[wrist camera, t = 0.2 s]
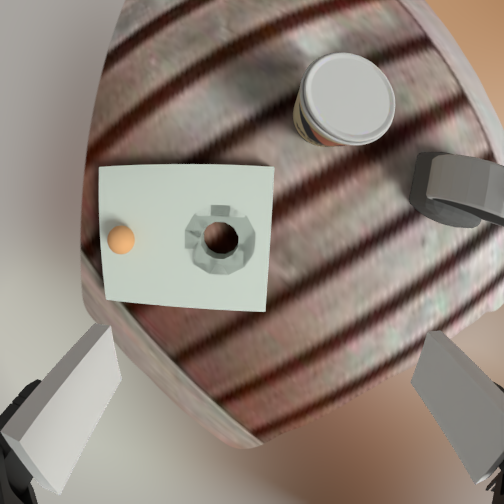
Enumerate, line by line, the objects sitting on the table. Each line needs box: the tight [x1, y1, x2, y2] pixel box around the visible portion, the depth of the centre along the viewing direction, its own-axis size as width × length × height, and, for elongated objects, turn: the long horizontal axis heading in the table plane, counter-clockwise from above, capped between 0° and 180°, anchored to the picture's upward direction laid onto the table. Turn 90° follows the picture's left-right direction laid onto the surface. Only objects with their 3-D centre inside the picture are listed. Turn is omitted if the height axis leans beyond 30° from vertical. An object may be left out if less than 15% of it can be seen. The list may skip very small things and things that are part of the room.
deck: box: [99, 164, 274, 312], centre depth 37 cm, size 22×18×2 cm
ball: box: [107, 225, 135, 254], centre depth 34 cm, size 4×4×4 cm
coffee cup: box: [293, 53, 395, 147], centre depth 28 cm, size 9×9×12 cm
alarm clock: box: [409, 152, 504, 228], centre depth 27 cm, size 16×10×18 cm, turn 79°
